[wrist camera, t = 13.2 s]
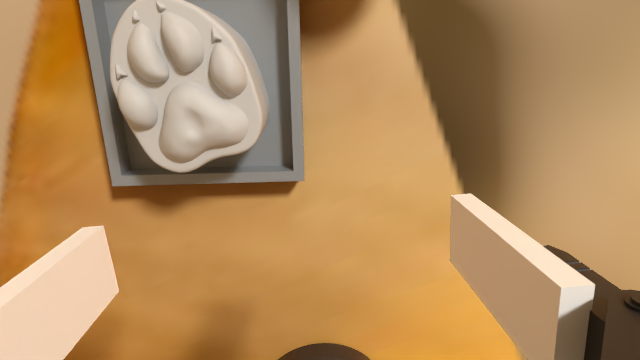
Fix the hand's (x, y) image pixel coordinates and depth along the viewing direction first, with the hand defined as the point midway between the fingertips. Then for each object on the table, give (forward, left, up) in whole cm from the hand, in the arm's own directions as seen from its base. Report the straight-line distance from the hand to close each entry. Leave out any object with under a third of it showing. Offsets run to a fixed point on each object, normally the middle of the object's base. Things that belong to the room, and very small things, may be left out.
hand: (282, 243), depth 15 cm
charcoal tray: (+5, +8, -25) cm, 27 cm away
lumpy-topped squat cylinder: (+5, +8, -25) cm, 27 cm away
